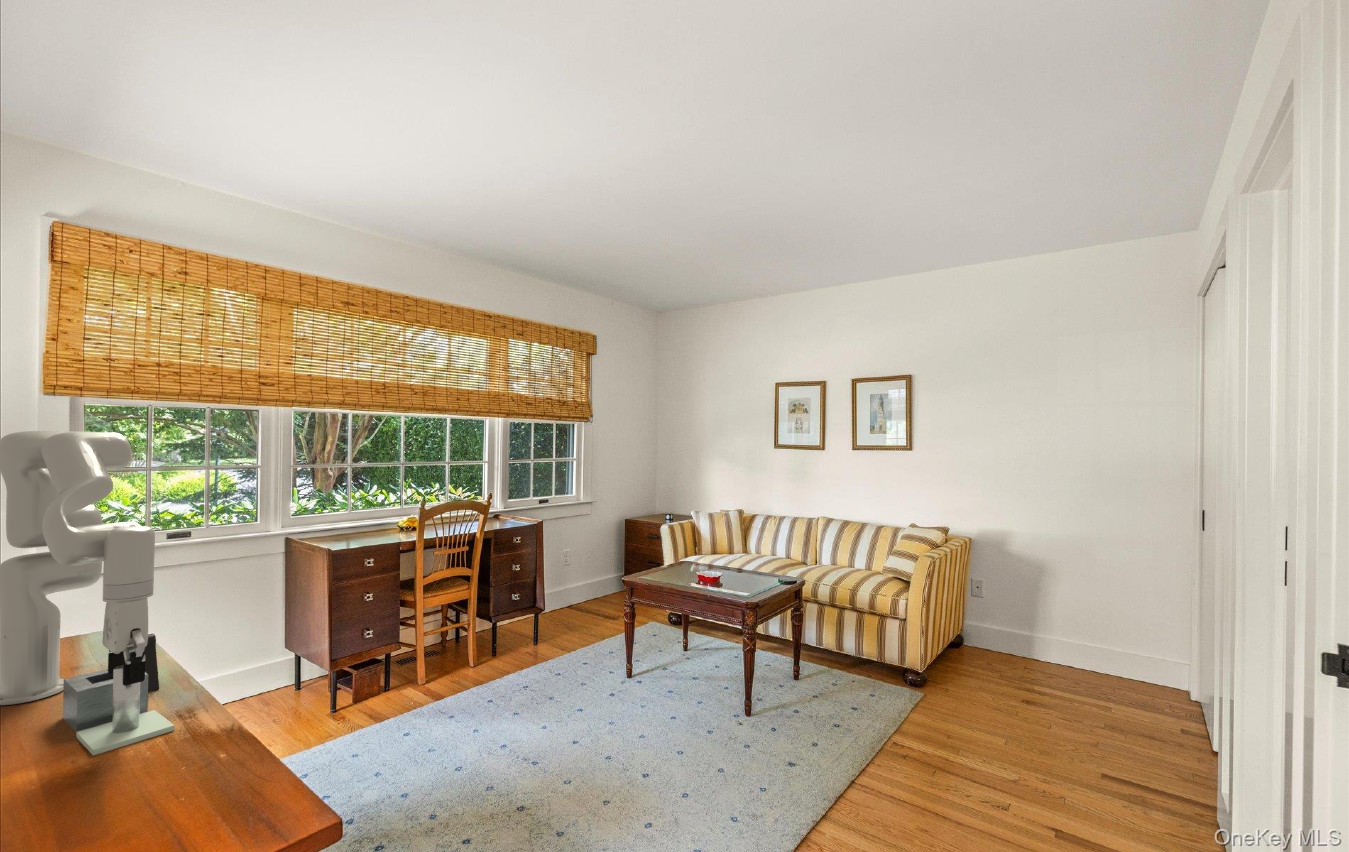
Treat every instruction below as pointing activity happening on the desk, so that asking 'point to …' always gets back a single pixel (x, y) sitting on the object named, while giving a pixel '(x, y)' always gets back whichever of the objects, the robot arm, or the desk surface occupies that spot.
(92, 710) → the chuck block
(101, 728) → the mat
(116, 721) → the grey metal cylinder
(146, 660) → the phone stand
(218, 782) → the desk surface
